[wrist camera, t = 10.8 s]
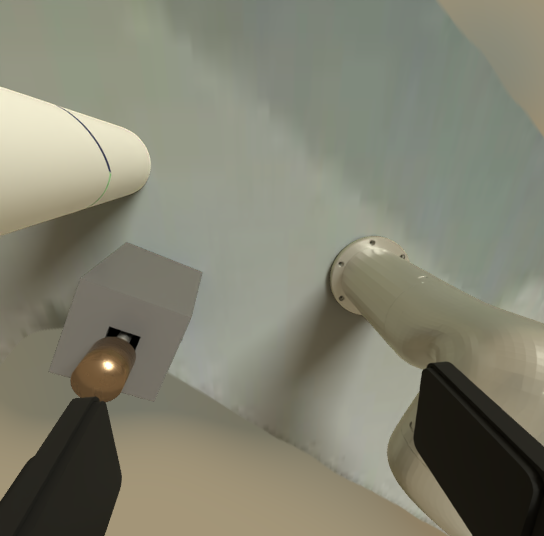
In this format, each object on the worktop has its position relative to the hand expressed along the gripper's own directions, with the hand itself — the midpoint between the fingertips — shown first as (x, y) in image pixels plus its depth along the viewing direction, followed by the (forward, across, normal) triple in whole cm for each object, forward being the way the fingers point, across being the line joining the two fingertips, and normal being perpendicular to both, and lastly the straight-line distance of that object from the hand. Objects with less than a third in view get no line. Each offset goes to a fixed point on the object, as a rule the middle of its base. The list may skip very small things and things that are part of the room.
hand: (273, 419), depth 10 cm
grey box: (+38, +13, +10) cm, 42 cm away
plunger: (+37, +13, +10) cm, 41 cm away
